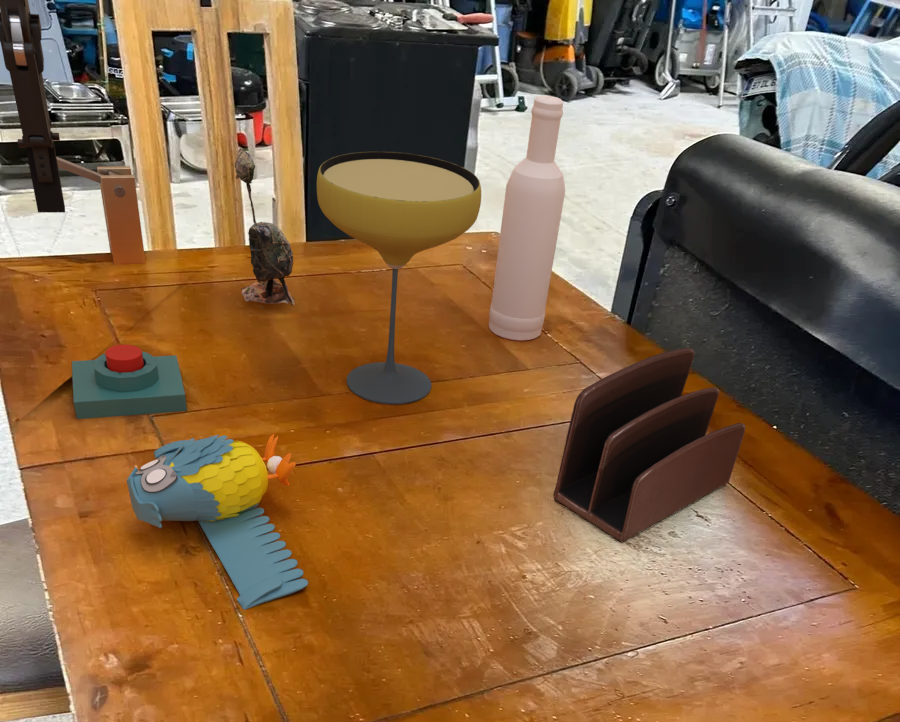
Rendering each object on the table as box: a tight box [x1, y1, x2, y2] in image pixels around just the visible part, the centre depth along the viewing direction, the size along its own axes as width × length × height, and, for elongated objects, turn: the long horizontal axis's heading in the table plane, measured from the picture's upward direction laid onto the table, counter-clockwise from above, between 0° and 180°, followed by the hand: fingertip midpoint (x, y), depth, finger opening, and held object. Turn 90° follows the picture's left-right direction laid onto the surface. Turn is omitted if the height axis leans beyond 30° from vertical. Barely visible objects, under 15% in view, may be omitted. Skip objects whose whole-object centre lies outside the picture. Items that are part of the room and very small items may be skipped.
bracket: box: [96, 165, 146, 266], centre depth 127 cm, size 12×9×14 cm
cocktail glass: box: [316, 151, 482, 405], centre depth 105 cm, size 18×18×25 cm
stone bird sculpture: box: [234, 150, 296, 309], centre depth 121 cm, size 8×11×20 cm
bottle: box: [488, 94, 566, 342], centre depth 119 cm, size 8×8×30 cm
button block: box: [71, 351, 188, 420], centre depth 103 cm, size 12×10×4 cm
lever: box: [56, 156, 118, 185], centre depth 121 cm, size 13×6×2 cm, turn 112°
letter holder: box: [553, 347, 746, 543], centre depth 95 cm, size 10×20×14 cm, turn 132°
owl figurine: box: [126, 433, 309, 611], centre depth 85 cm, size 28×9×15 cm
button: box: [104, 344, 144, 373], centre depth 102 cm, size 4×4×2 cm
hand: (51, 209), depth 95 cm, fingers closed
